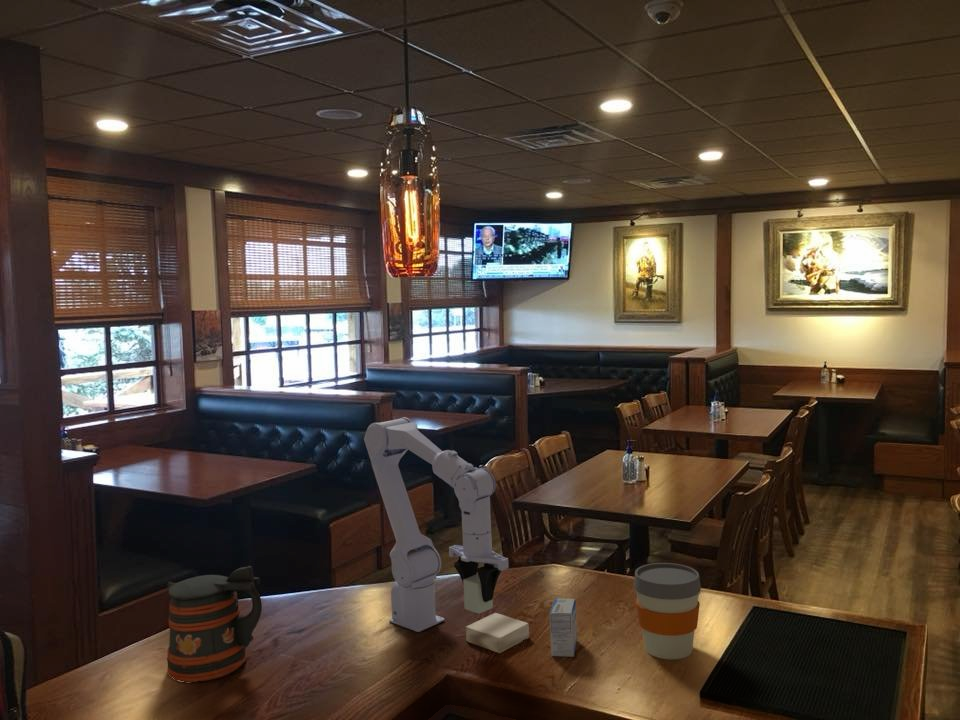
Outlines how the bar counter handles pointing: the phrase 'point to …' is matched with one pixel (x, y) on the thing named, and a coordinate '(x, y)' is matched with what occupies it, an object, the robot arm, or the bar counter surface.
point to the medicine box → (563, 627)
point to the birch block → (497, 632)
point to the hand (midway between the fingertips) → (479, 597)
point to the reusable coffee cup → (667, 608)
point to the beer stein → (210, 625)
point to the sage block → (475, 595)
